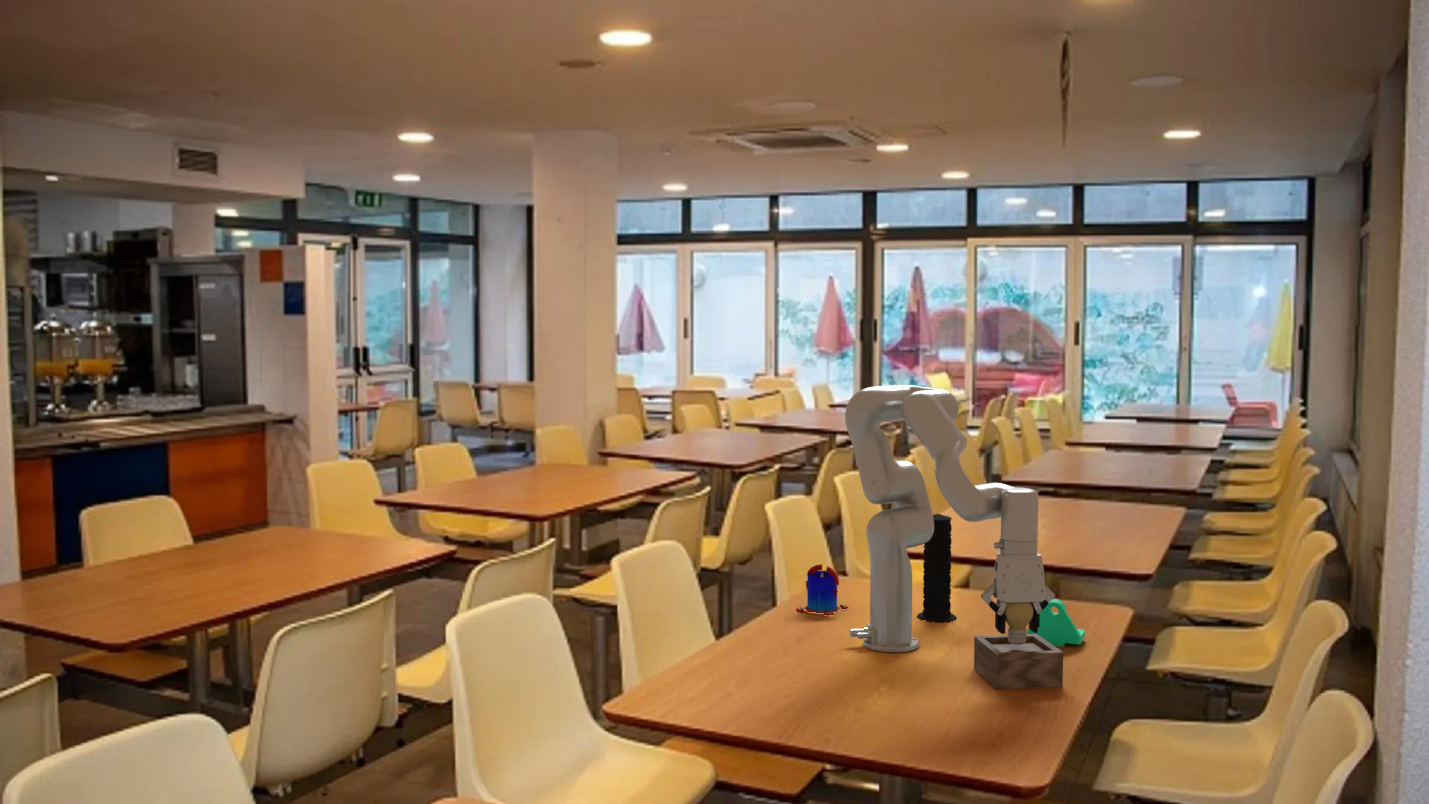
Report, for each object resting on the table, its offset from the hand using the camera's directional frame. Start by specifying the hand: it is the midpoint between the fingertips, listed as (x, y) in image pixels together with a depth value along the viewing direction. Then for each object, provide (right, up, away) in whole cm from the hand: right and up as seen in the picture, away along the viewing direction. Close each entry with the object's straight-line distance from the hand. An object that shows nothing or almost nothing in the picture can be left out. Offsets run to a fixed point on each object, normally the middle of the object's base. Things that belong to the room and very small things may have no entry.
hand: (1017, 630), depth 250 cm
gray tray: (0, -10, +1) cm, 10 cm away
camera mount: (+16, -8, +28) cm, 34 cm away
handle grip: (-8, -6, +50) cm, 51 cm away
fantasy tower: (-36, -6, +58) cm, 69 cm away
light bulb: (0, -3, 0) cm, 3 cm away
